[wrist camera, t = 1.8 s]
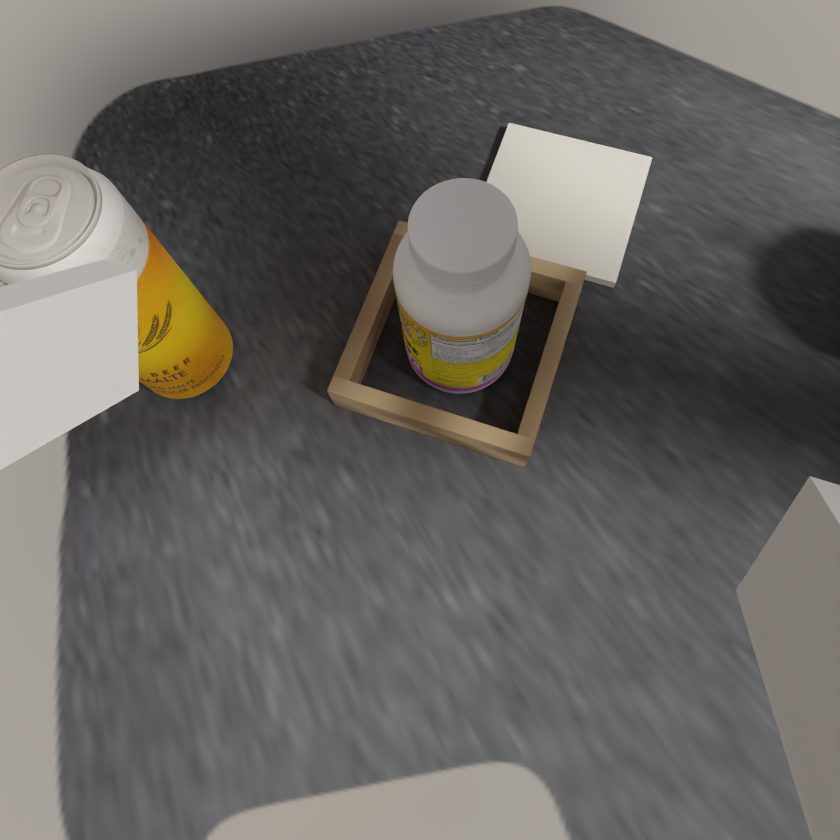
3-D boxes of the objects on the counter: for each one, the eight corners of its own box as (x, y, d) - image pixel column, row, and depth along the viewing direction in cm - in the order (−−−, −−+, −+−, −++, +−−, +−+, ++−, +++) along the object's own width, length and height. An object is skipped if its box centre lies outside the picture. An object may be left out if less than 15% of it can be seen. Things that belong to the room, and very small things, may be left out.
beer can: (130, 394, 37) (-68, 262, 23) (161, 308, 39) (-5, 137, 25) (221, 411, 37) (75, 286, 23) (248, 323, 39) (129, 155, 24)
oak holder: (578, 292, 38) (586, 271, 36) (524, 466, 35) (529, 456, 32) (401, 243, 40) (398, 220, 37) (335, 405, 37) (327, 391, 34)
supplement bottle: (410, 298, 39) (391, 154, 26) (513, 302, 38) (543, 157, 26) (402, 395, 37) (377, 289, 24) (511, 401, 36) (542, 295, 24)
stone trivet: (649, 163, 41) (652, 157, 40) (613, 287, 38) (615, 282, 37) (508, 129, 42) (508, 122, 42) (463, 246, 39) (463, 241, 39)
